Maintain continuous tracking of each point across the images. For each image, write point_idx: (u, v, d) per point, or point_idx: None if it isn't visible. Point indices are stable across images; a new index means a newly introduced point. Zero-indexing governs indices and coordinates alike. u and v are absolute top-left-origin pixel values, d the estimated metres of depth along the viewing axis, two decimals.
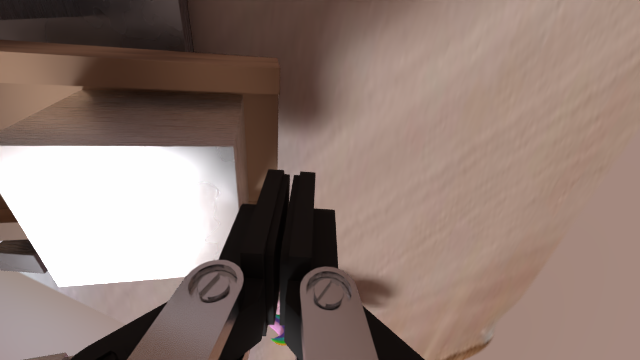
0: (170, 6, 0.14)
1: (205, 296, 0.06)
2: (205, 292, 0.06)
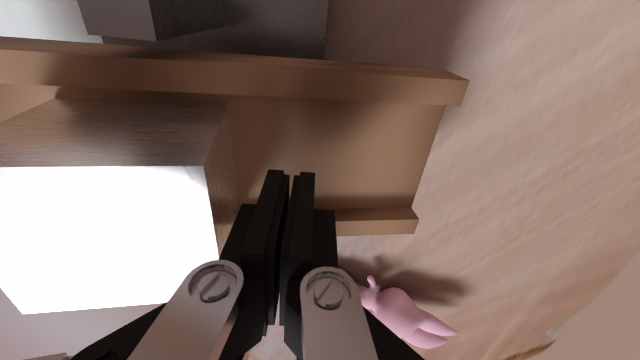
0: (318, 16, 0.14)
1: (205, 296, 0.06)
2: (205, 292, 0.06)
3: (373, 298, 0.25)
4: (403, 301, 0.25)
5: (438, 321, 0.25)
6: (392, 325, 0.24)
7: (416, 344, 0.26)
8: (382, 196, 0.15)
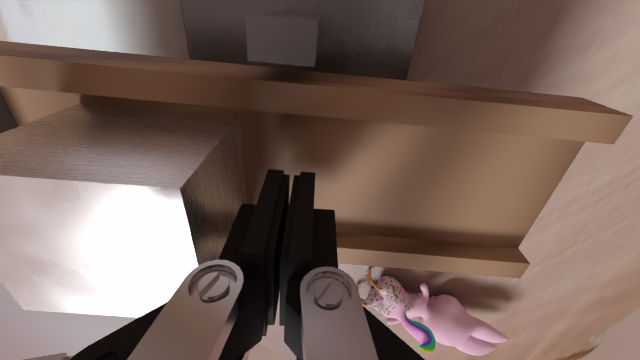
0: (409, 31, 0.14)
1: (205, 296, 0.06)
2: (205, 292, 0.06)
3: (424, 306, 0.25)
4: (455, 309, 0.25)
5: (491, 328, 0.25)
6: (446, 333, 0.24)
7: (467, 351, 0.26)
8: (486, 232, 0.13)
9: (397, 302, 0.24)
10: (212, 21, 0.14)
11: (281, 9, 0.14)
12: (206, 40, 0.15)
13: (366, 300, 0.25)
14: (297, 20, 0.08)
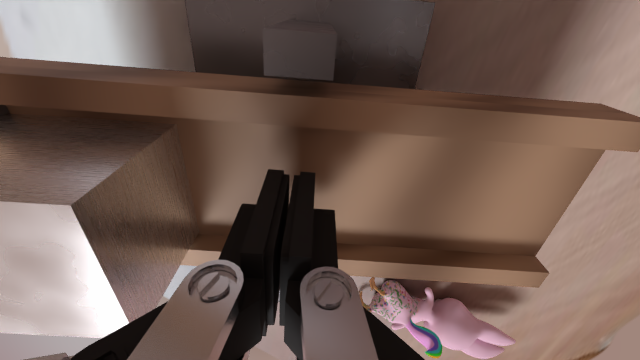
0: (418, 37, 0.14)
1: (205, 296, 0.06)
2: (205, 292, 0.06)
3: (429, 310, 0.25)
4: (461, 312, 0.24)
5: (498, 331, 0.24)
6: (452, 338, 0.24)
7: (474, 355, 0.26)
8: (503, 241, 0.13)
9: (401, 307, 0.24)
10: (218, 31, 0.14)
11: (289, 18, 0.14)
12: (212, 50, 0.15)
13: (370, 306, 0.25)
14: (316, 33, 0.08)
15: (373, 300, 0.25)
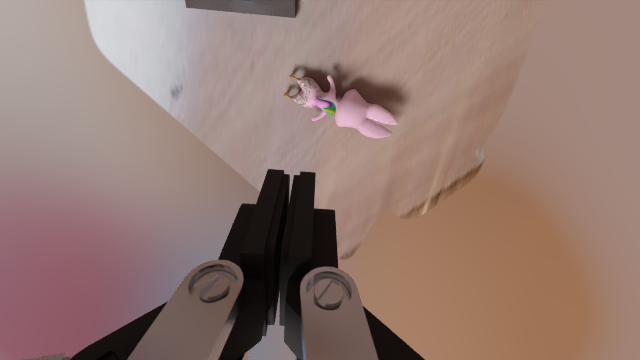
0: None
1: (205, 296, 0.06)
2: (205, 292, 0.06)
3: (333, 96, 0.35)
4: (354, 94, 0.35)
5: (380, 106, 0.35)
6: (346, 109, 0.34)
7: (368, 132, 0.36)
8: None
9: (310, 87, 0.34)
10: None
11: None
12: None
13: (292, 96, 0.36)
14: None
15: (295, 94, 0.36)
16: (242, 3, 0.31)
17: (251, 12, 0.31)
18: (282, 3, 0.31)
